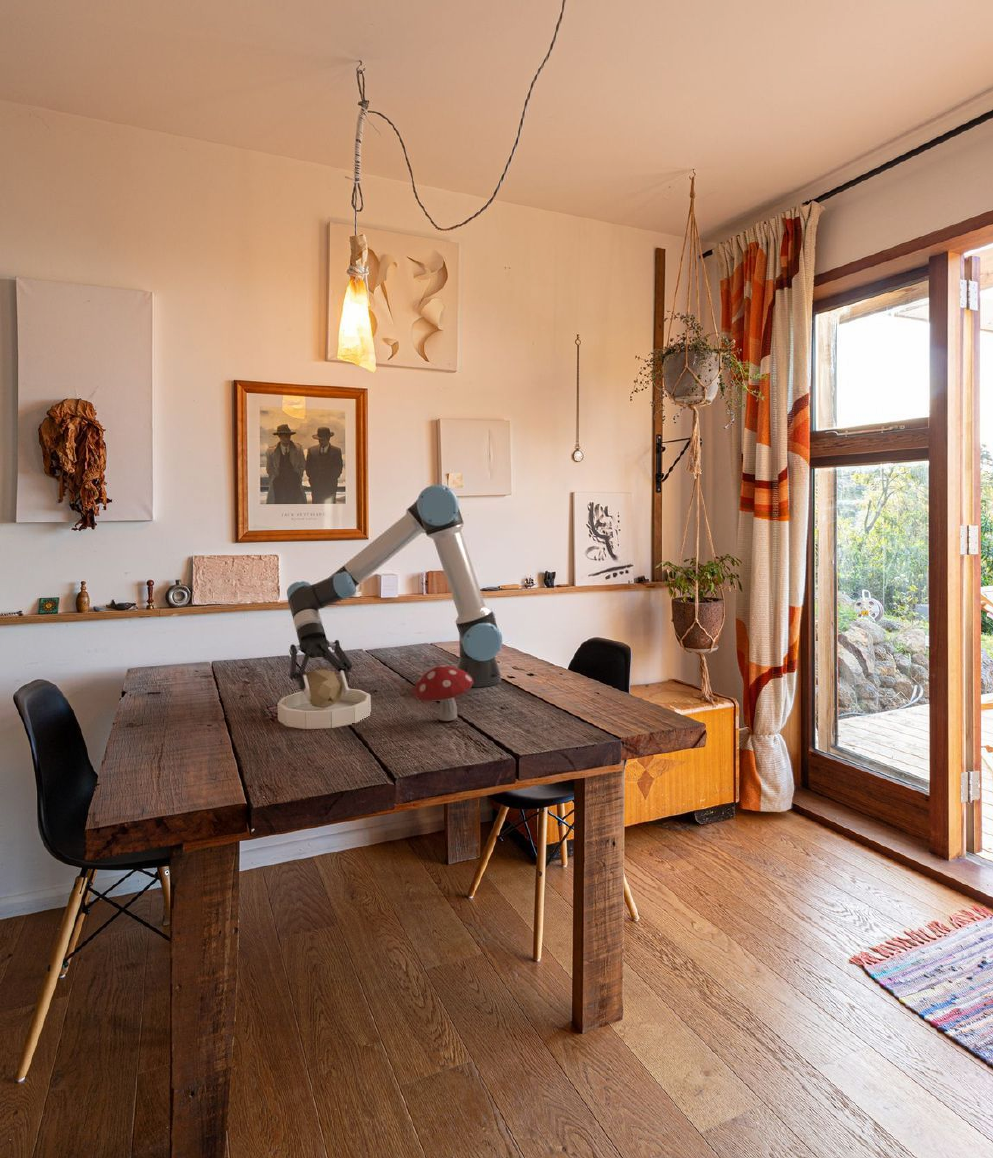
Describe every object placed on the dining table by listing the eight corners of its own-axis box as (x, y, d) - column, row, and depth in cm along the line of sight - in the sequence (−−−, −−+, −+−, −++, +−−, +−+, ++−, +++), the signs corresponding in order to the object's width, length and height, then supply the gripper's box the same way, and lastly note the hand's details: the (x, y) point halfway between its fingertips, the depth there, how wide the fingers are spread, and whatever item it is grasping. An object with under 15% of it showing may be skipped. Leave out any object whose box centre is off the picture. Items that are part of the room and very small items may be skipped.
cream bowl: (373, 701, 202) (373, 686, 201) (366, 726, 178) (365, 709, 177) (289, 704, 199) (288, 689, 199) (270, 730, 175) (269, 713, 175)
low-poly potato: (313, 699, 197) (282, 688, 188) (333, 666, 198) (303, 653, 189) (340, 724, 187) (308, 714, 178) (361, 689, 188) (331, 677, 179)
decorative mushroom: (472, 730, 174) (472, 672, 172) (409, 731, 174) (408, 672, 172) (475, 712, 190) (474, 658, 188) (417, 712, 190) (416, 659, 188)
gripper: (344, 633, 205) (364, 697, 193) (268, 640, 194) (284, 709, 182) (350, 617, 200) (371, 682, 188) (271, 624, 189) (288, 693, 177)
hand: (328, 695), depth 185 cm, fingers closed on low-poly potato, 10 cm apart
